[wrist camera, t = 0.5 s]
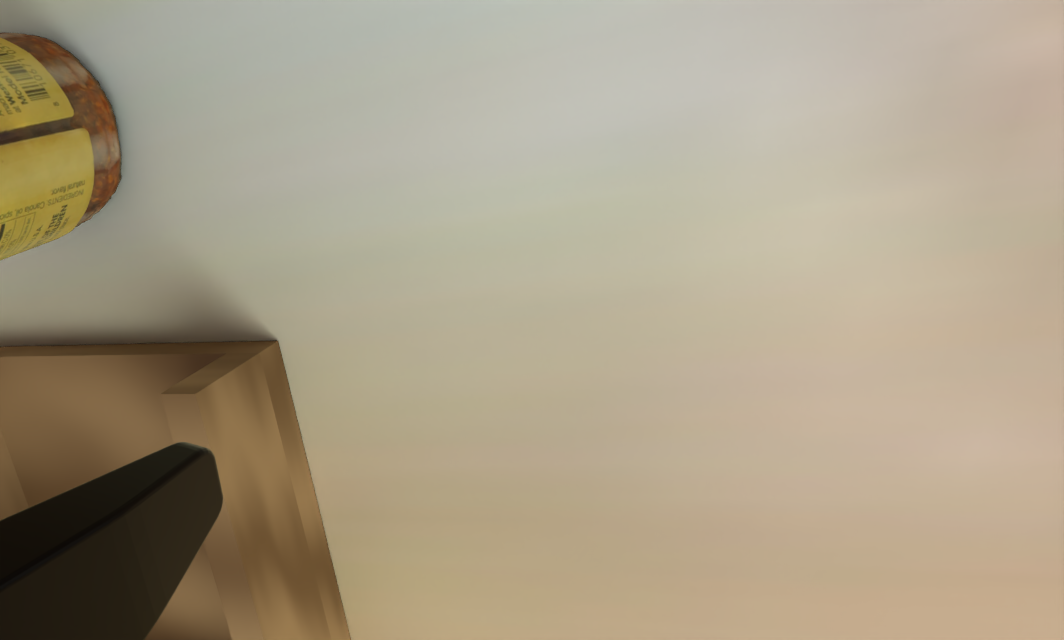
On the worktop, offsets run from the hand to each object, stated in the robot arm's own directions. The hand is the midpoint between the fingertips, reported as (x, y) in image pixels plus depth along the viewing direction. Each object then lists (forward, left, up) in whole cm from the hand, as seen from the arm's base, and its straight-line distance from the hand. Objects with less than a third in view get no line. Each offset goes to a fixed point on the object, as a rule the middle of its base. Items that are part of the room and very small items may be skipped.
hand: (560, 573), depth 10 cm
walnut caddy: (-17, +14, -14) cm, 26 cm away
